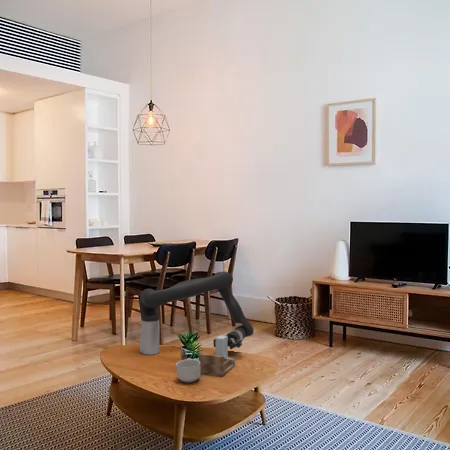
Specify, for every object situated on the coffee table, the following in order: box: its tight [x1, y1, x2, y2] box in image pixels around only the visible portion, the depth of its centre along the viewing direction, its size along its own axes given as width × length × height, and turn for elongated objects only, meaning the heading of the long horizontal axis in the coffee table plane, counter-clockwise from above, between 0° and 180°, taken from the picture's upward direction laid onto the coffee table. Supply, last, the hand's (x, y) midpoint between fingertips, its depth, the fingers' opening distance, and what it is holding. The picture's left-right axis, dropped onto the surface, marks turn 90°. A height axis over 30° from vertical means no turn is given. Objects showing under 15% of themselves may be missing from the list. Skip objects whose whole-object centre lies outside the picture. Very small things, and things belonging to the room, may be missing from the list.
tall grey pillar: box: [215, 334, 229, 358], centre depth 244 cm, size 4×6×12 cm, turn 158°
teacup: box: [175, 357, 201, 383], centre depth 219 cm, size 14×11×8 cm
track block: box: [198, 353, 236, 378], centre depth 231 cm, size 12×16×9 cm
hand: (222, 346), depth 245 cm, fingers open, 8 cm apart
